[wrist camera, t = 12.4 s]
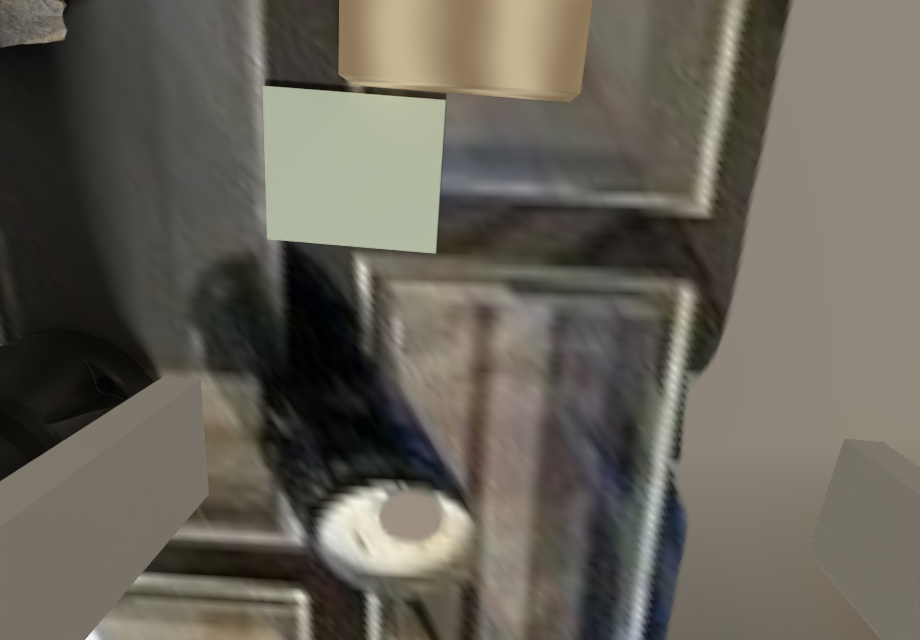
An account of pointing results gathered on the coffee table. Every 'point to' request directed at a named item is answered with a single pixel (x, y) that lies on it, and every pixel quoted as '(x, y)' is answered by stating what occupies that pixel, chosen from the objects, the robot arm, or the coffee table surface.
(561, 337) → the coffee table surface
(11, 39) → the mineral specimen
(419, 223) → the mat
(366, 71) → the hole block
